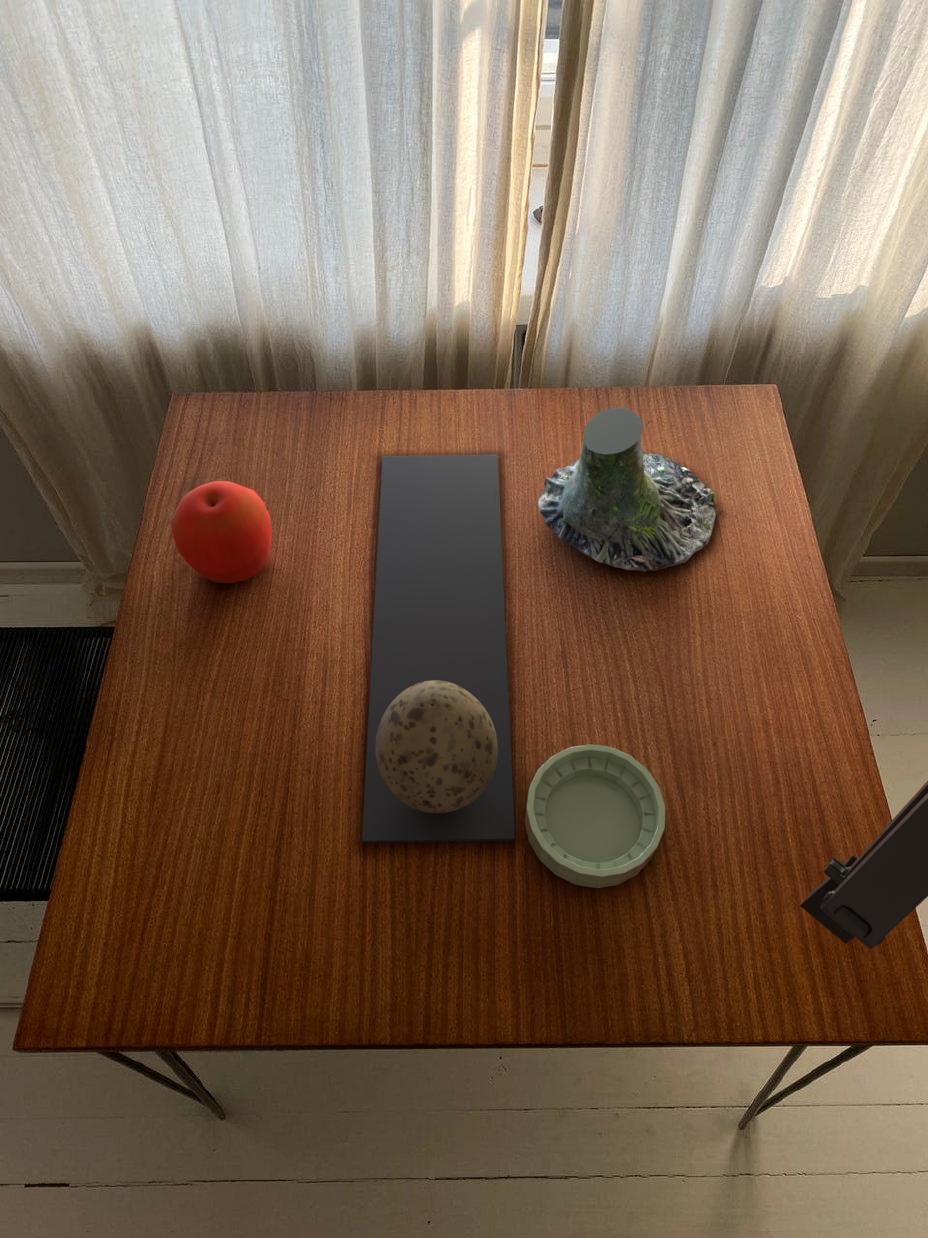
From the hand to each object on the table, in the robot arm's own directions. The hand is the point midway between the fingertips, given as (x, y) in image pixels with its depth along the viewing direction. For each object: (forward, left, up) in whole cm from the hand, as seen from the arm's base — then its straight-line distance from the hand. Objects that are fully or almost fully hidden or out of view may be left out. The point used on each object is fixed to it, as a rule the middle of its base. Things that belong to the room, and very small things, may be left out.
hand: (894, 829), depth 48 cm
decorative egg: (-7, +30, -31) cm, 44 cm away
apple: (-5, +65, -32) cm, 73 cm away
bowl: (0, +17, -32) cm, 36 cm away
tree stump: (+31, +38, -32) cm, 59 cm away
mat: (+6, +43, -32) cm, 54 cm away
